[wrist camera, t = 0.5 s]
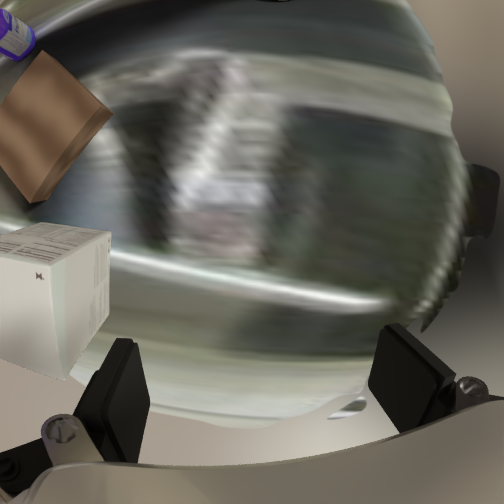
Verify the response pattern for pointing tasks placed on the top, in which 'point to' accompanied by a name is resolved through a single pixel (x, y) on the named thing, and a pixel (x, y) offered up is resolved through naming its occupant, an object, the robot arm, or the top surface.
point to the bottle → (15, 37)
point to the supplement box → (52, 295)
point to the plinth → (46, 126)
